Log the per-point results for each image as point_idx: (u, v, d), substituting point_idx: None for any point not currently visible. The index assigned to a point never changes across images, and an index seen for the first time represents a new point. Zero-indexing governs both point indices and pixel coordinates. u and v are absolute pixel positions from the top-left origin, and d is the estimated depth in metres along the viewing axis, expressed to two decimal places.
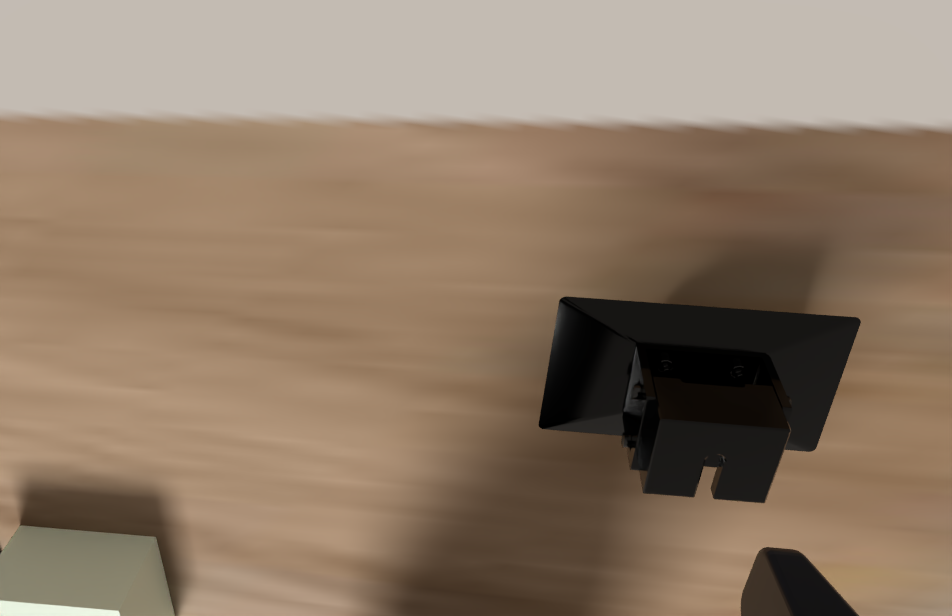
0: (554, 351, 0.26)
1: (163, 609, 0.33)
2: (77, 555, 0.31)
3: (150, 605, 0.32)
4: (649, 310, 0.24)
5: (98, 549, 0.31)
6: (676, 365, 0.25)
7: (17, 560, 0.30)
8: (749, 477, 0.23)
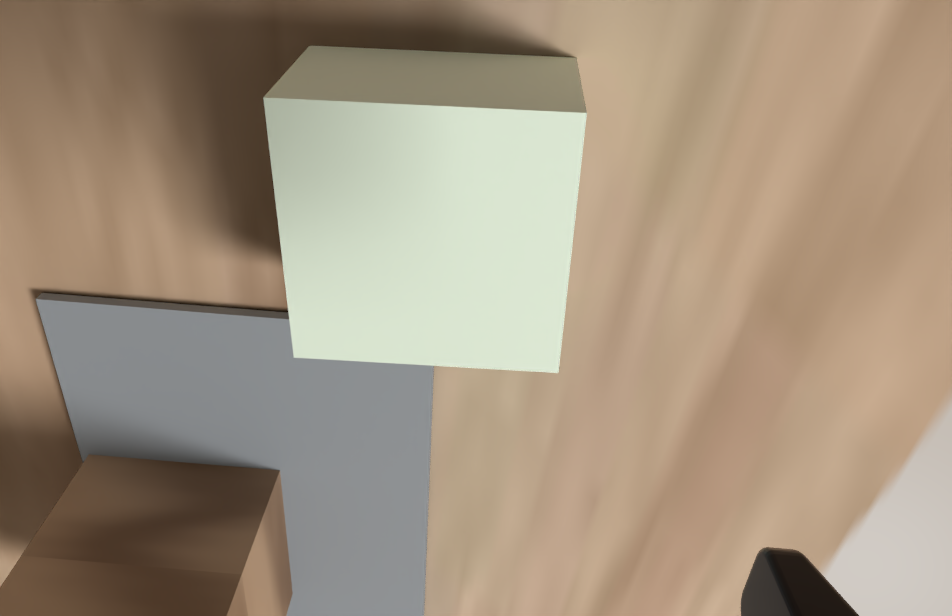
0: None
1: (484, 63, 0.16)
2: None
3: (411, 71, 0.15)
4: None
5: None
6: None
7: None
8: None
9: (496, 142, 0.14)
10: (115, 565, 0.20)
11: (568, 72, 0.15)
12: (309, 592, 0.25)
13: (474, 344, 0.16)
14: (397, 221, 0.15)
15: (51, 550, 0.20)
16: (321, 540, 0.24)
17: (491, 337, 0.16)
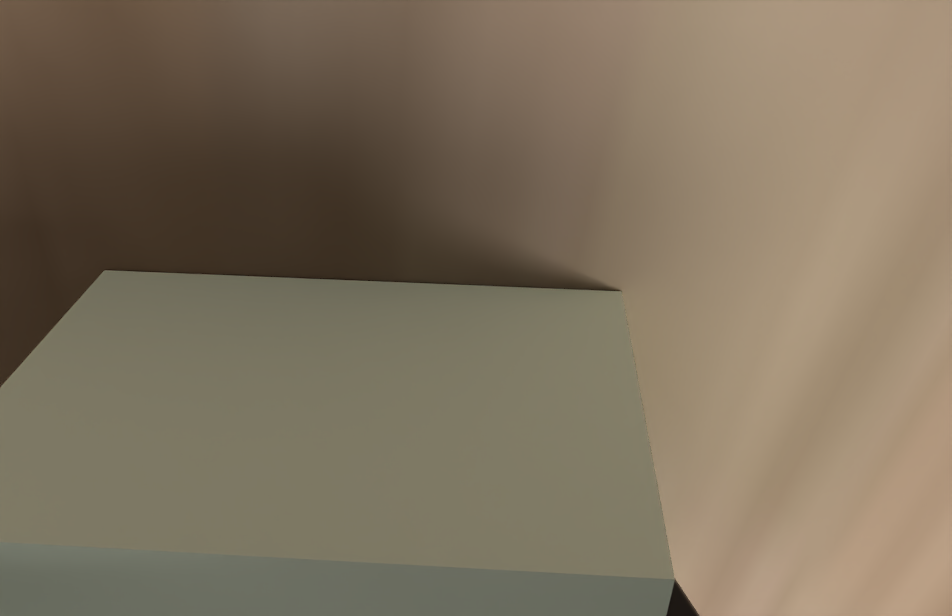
0: None
1: (436, 333, 0.08)
2: None
3: (275, 378, 0.07)
4: None
5: None
6: None
7: None
8: None
9: None
10: None
11: (613, 366, 0.07)
12: None
13: None
14: None
15: None
16: None
17: None
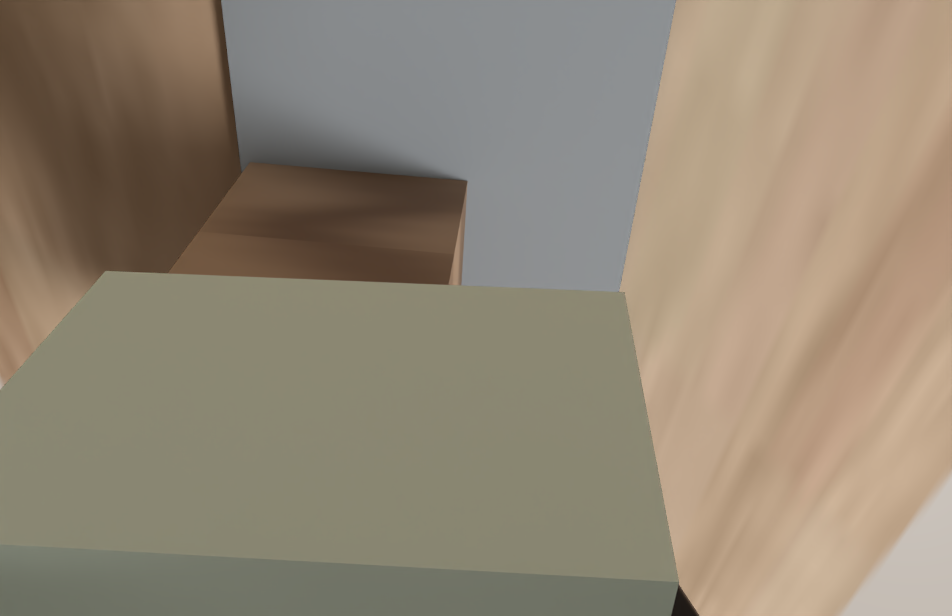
0: None
1: (438, 334, 0.08)
2: None
3: (276, 380, 0.07)
4: None
5: None
6: None
7: None
8: None
9: None
10: (308, 242, 0.17)
11: (615, 367, 0.07)
12: None
13: None
14: None
15: (231, 228, 0.17)
16: (501, 279, 0.21)
17: None
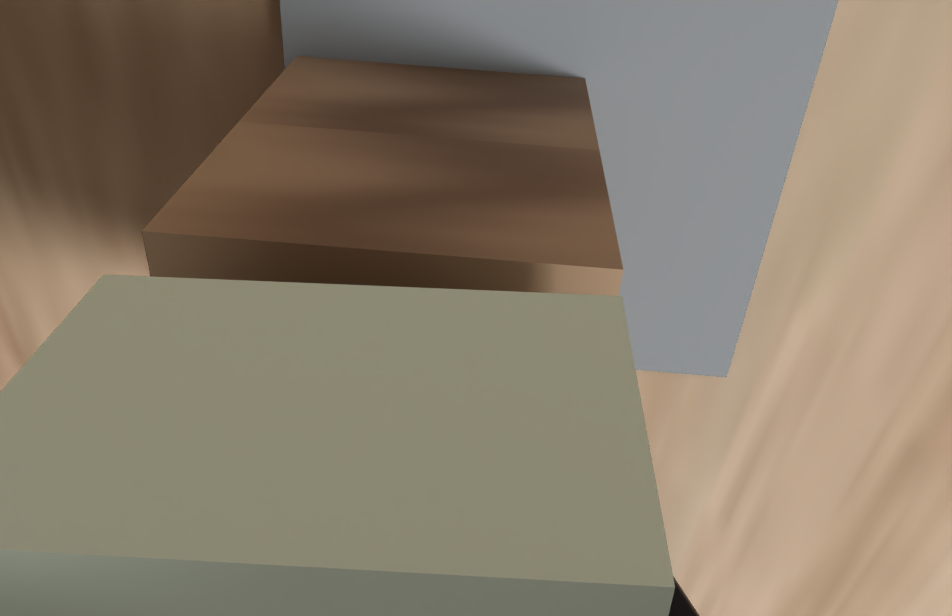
0: None
1: (436, 338, 0.08)
2: None
3: (273, 385, 0.07)
4: None
5: None
6: None
7: None
8: None
9: None
10: (393, 134, 0.12)
11: (613, 372, 0.07)
12: None
13: None
14: None
15: (284, 119, 0.12)
16: (617, 216, 0.17)
17: None
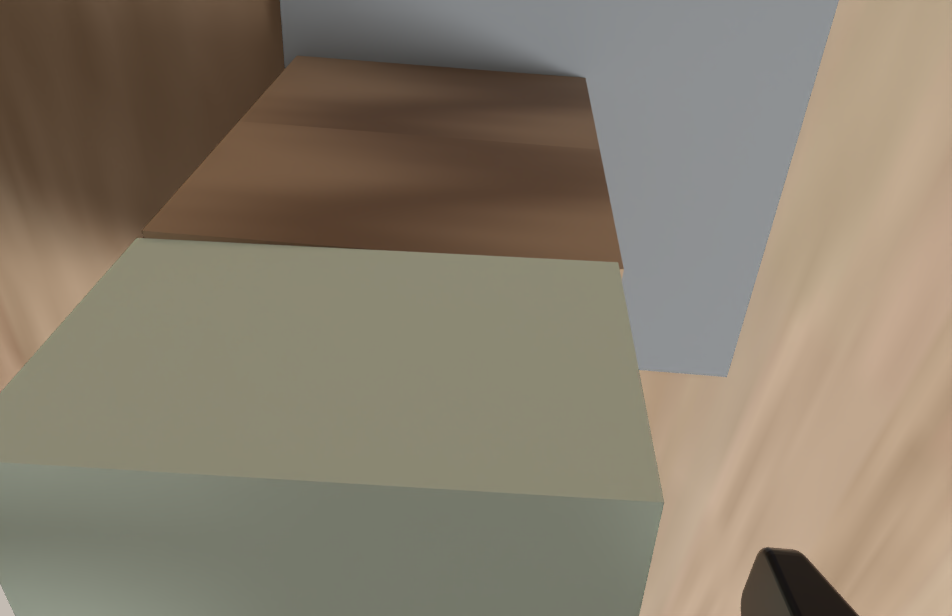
0: None
1: (447, 296, 0.08)
2: None
3: (300, 333, 0.08)
4: None
5: None
6: None
7: None
8: None
9: (462, 543, 0.06)
10: (394, 134, 0.12)
11: (610, 327, 0.08)
12: None
13: None
14: None
15: (284, 119, 0.12)
16: (617, 216, 0.16)
17: None
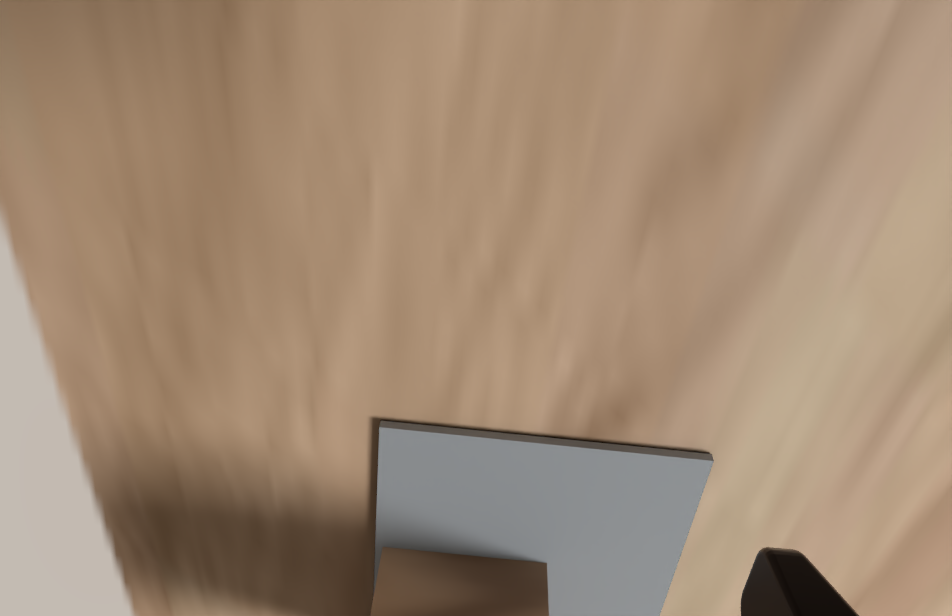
0: None
1: None
2: None
3: None
4: None
5: None
6: None
7: None
8: None
9: None
10: None
11: None
12: None
13: None
14: None
15: None
16: None
17: None
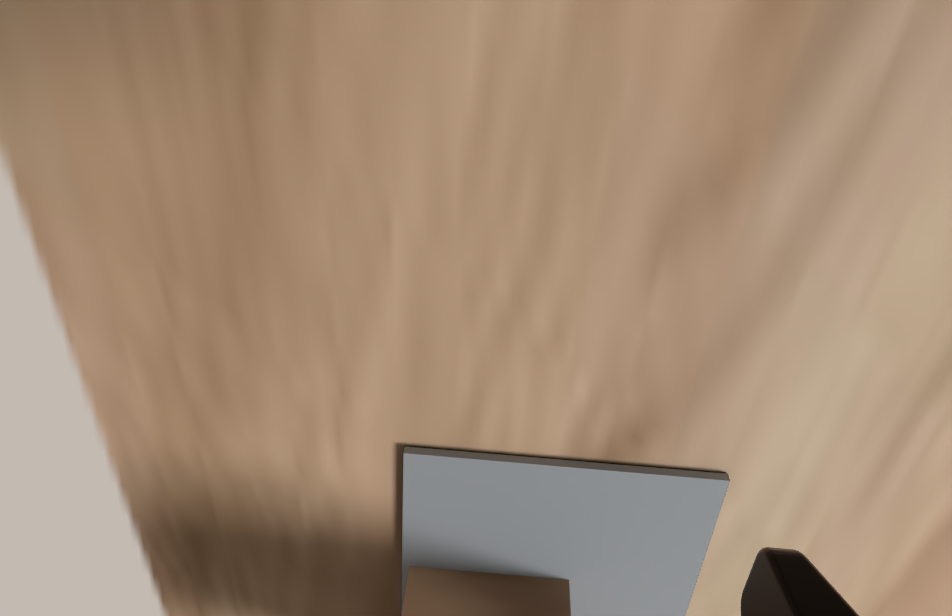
0: None
1: None
2: None
3: None
4: None
5: None
6: None
7: None
8: None
9: None
10: None
11: None
12: None
13: None
14: None
15: None
16: None
17: None
